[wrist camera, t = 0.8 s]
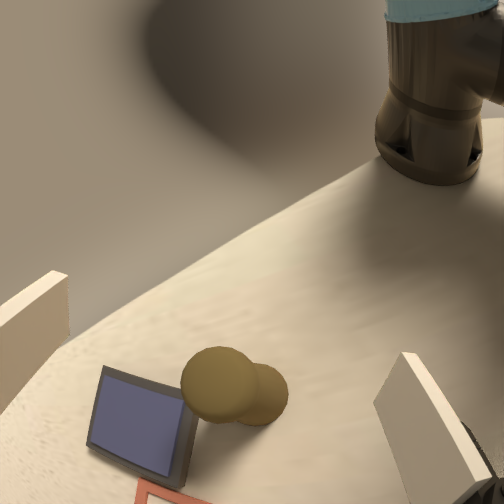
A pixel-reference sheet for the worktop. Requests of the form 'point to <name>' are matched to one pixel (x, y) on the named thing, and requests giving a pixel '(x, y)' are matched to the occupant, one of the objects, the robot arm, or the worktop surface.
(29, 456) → the worktop surface
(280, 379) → the cork
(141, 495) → the marked square
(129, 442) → the ink pad
